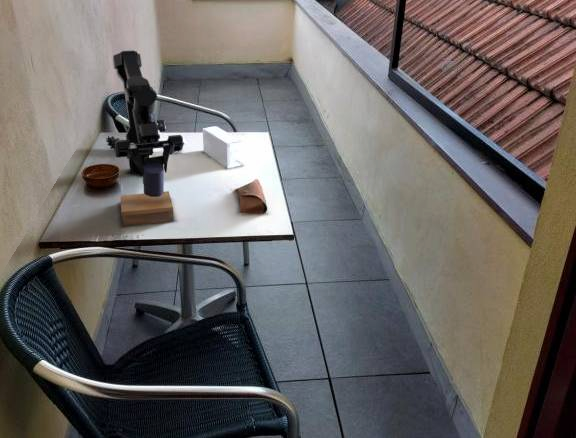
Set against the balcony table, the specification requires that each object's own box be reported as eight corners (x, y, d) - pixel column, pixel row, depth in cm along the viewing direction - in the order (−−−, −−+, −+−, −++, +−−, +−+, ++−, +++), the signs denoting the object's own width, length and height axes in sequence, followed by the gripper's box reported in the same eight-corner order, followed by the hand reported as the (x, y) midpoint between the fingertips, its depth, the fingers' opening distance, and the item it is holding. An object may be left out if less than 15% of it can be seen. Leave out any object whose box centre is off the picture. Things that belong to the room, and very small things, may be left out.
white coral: (171, 156, 200) (170, 141, 197) (164, 149, 206) (163, 134, 203) (188, 154, 203) (188, 138, 200) (181, 147, 209) (180, 132, 206)
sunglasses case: (233, 188, 176) (244, 171, 174) (252, 197, 179) (262, 181, 177) (239, 213, 160) (251, 195, 158) (259, 223, 163) (271, 205, 161)
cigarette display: (241, 165, 195) (241, 140, 190) (227, 168, 192) (227, 143, 188) (215, 148, 209) (214, 125, 205) (201, 151, 206) (200, 127, 202)
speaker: (142, 185, 160) (142, 154, 154) (162, 186, 161) (163, 154, 156) (142, 199, 154) (142, 167, 148) (163, 199, 155) (164, 167, 150)
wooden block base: (121, 203, 165) (119, 189, 163) (168, 199, 169) (167, 185, 167) (123, 226, 152) (121, 212, 150) (173, 221, 156) (172, 207, 154)
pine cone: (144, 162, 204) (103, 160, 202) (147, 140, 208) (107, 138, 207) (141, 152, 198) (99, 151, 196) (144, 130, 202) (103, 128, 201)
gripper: (111, 112, 146) (120, 166, 142) (180, 107, 152) (191, 158, 149) (111, 131, 156) (120, 181, 152) (176, 125, 162) (186, 173, 159)
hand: (154, 173), depth 153 cm, fingers closed on speaker, 6 cm apart
